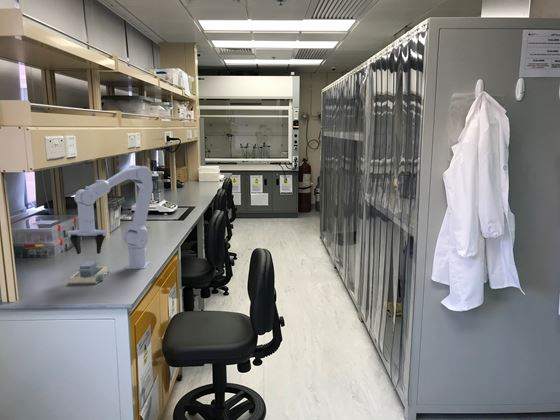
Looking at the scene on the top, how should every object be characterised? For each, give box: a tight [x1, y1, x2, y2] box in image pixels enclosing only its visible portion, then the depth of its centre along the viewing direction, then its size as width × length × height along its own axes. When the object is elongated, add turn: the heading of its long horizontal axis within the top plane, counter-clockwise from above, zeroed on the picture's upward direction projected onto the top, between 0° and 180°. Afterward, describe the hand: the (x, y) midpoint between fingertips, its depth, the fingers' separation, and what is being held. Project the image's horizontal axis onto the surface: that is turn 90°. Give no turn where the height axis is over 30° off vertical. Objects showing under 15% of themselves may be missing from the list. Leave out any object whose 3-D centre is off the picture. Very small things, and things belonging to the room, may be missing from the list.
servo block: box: [78, 260, 99, 277], centre depth 176 cm, size 10×4×6 cm, turn 4°
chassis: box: [67, 266, 110, 286], centre depth 176 cm, size 15×12×3 cm
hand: (89, 253), depth 176 cm, fingers open, 7 cm apart
